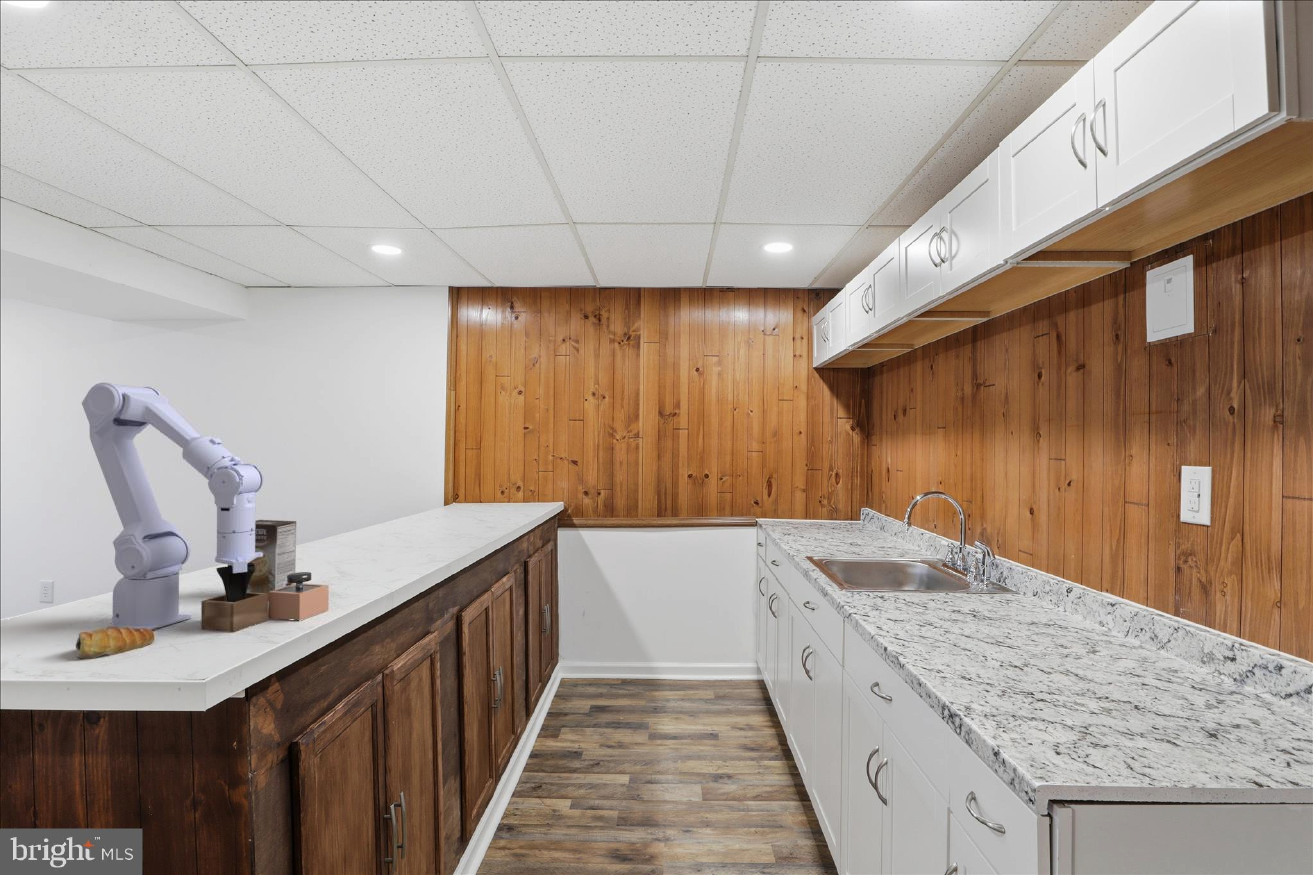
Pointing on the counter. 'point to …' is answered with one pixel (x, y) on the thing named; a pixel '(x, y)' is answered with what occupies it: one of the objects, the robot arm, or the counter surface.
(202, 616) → the box
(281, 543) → the coffee box
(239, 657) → the counter surface
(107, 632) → the pastry
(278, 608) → the box
